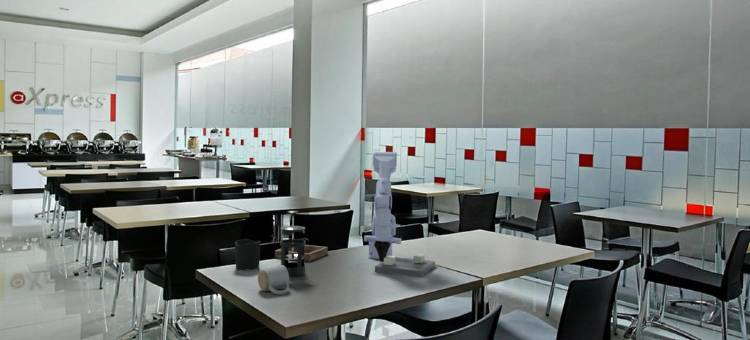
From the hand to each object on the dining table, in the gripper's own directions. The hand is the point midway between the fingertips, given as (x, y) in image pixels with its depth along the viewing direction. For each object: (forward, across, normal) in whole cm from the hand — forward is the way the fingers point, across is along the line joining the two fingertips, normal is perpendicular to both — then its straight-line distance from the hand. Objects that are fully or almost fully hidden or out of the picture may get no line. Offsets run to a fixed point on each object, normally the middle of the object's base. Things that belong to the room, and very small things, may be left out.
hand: (382, 261), depth 211 cm
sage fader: (+1, +12, +8) cm, 14 cm away
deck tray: (+3, -39, +7) cm, 40 cm away
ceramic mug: (+3, -20, -43) cm, 47 cm away
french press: (+3, -27, -21) cm, 34 cm away
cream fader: (+1, +3, 0) cm, 3 cm away
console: (+3, +8, +4) cm, 9 cm away
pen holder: (+3, -47, -20) cm, 51 cm away
